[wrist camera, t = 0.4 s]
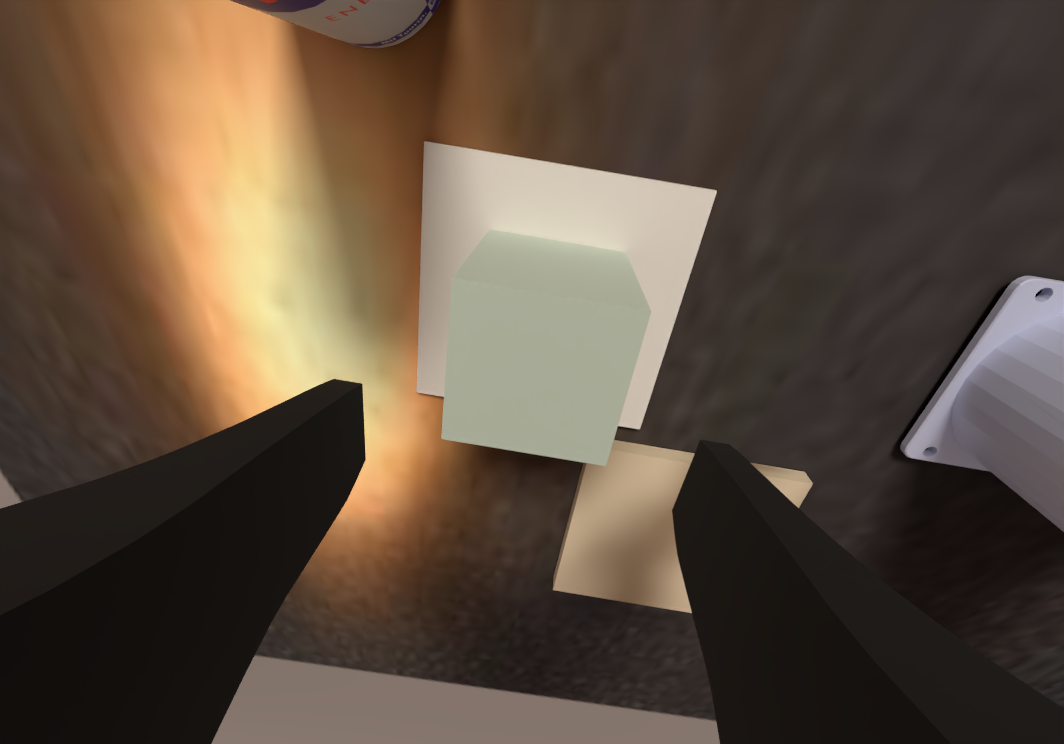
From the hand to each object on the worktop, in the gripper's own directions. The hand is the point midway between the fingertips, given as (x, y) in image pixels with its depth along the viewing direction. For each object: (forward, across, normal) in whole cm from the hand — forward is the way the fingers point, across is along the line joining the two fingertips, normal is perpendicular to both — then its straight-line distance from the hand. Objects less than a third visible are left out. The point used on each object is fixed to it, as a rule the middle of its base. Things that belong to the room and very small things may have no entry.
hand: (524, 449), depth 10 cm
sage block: (+9, 0, 0) cm, 9 cm away
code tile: (+9, 0, 0) cm, 9 cm away
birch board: (+9, -8, +11) cm, 17 cm away
